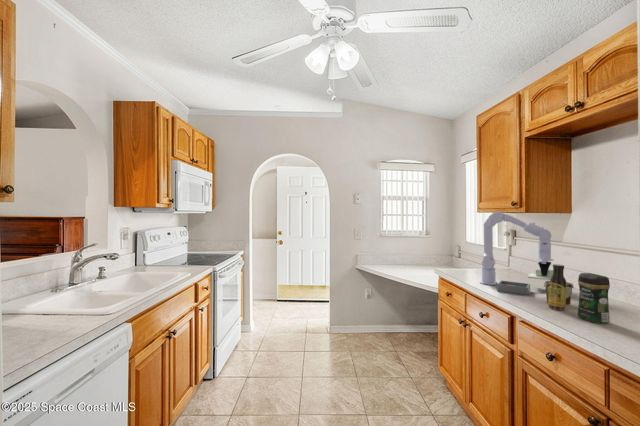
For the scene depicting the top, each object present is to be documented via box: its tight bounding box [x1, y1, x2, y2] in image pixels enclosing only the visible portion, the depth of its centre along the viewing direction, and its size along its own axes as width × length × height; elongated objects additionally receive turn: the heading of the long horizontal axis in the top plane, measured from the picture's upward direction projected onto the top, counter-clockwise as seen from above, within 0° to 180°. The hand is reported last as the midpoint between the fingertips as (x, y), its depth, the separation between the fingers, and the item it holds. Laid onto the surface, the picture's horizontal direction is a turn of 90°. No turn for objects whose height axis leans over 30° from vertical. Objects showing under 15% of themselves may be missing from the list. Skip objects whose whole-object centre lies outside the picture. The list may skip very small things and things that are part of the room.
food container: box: [543, 280, 575, 306], centre depth 155 cm, size 12×6×10 cm, turn 84°
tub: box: [496, 280, 531, 296], centre depth 177 cm, size 12×14×4 cm
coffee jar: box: [577, 272, 611, 325], centre depth 129 cm, size 10×8×19 cm
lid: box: [527, 268, 553, 281], centre depth 181 cm, size 13×15×4 cm
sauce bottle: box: [547, 263, 567, 311], centre depth 145 cm, size 7×6×20 cm
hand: (544, 275), depth 181 cm, fingers closed on lid, 4 cm apart
